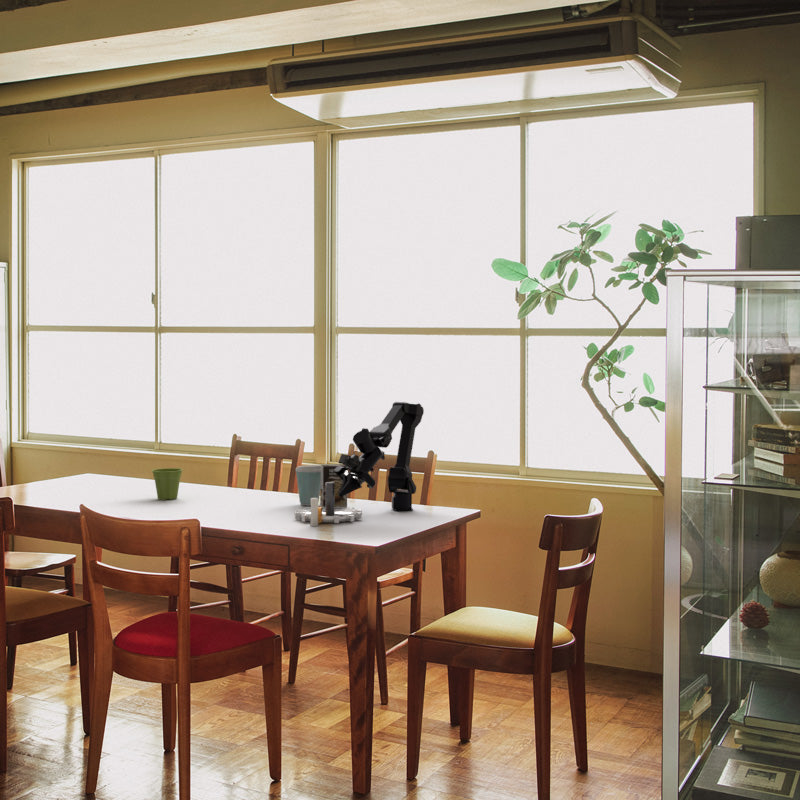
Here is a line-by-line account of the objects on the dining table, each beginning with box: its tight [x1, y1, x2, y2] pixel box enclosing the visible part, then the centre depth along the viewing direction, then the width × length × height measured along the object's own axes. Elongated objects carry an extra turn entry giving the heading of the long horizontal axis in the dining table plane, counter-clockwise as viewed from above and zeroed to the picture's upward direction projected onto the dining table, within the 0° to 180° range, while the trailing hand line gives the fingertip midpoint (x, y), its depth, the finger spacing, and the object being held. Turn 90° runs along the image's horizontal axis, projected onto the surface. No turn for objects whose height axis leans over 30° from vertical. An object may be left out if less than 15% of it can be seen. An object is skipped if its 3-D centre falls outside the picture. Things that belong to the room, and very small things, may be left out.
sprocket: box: [294, 482, 363, 524], centre depth 333 cm, size 23×23×13 cm
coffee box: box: [319, 463, 349, 508], centre depth 353 cm, size 9×6×16 cm
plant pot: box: [151, 467, 184, 501], centre depth 374 cm, size 12×12×11 cm
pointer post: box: [310, 498, 319, 527], centre depth 320 cm, size 2×2×9 cm
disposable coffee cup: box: [295, 464, 322, 506], centre depth 362 cm, size 11×11×15 cm
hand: (339, 496), depth 326 cm, fingers closed
